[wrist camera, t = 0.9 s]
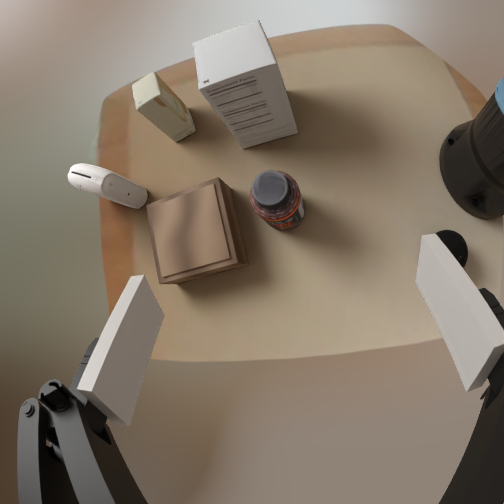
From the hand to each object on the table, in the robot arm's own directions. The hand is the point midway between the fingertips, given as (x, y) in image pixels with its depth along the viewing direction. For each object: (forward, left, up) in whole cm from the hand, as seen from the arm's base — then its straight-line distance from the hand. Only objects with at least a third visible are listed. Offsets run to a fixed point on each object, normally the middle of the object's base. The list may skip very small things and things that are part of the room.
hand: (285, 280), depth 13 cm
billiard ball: (-18, +1, -28) cm, 34 cm away
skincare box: (+15, -32, -28) cm, 45 cm away
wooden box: (+15, -11, -28) cm, 33 cm away
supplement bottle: (+2, -11, -28) cm, 30 cm away
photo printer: (+28, -23, -28) cm, 45 cm away
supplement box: (+1, -27, -28) cm, 39 cm away
